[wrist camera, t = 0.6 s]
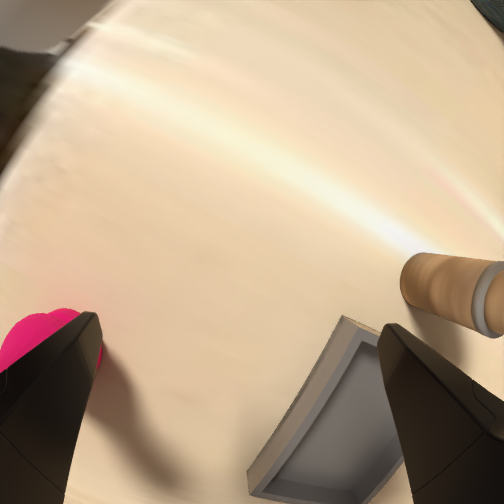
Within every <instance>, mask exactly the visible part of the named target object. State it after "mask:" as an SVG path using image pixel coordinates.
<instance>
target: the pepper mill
mask: <svg viewBox="0 0 504 504" xmlns="http://www.w3.org/2000/svg"><path fill="white" fill-rule="evenodd" d="M78 315H80V313H79V312H77V311H75V310H72V309H67V308H62V309H57V310H54V311H52V312H50V313H48V314H45V313H36V314H32V315H29V316H27V317H25V318H24V319H22V320H21V321H19V322H18V323H16V324H15V326H14V327H13V328H12V329H11V330H10V332H9V333H8V335H7V336H6V338H5V340H4V342H3V344H2V347H1V350H0V373H1V372H2V371H3V370H5V369H8V367H9V366H10V365H11V364H13V363H14V362H15V361H17V360H18V359H19V358H21V357H22V356H23V355H25V354H26V353H27V352H29V351H30V350H31V349H33V348H34V347H35V346H37V345H38V344H39V343H41V342H42V341H43V340H45V339H46V338H48V337H49V336H50V335H52V334H53V333H54V332H56V331H57V330H59V329H60V328H61V327H63V326H64V325H66V324H67V323H68V322H70V321H71V320H73V319H74V318H75V317H77V316H78ZM101 359H102V344H101V347H100V352H99V357H98V362H97V367H96V370H97V368H98V367H99V365H100V362H101Z"/></svg>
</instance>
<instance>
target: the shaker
mask: <svg viewBox="0 0 504 504" xmlns="http://www.w3.org/2000/svg"><path fill="white" fill-rule="evenodd" d="M400 289H401V293H402V295H403V297H404V299H405V300H406V301H407V302H408V303H409V304H410V305H413V306H415V307H417V308H420V309H422V310H425V311H427V312H430V313H432V314H435V315H437V316H440V317H442V318H445V319H447V320H450V321H452V322H454V323H457V324H459V325H462V326H464V327H467V328H469V329H472V330H474V331H476V332H479V333H480V334H482V335H484V336H487V337H489V338H499V337H501V336H502V335H504V262H503V261H489V260H481V259H473V258H465V257H457V256H448V255H440V254H432V253H418V254H416V255H414V256H412V257H411V258H410V259H409V260H408V261H407V262H406V264H405V265H404V267H403V270H402V273H401V277H400Z"/></svg>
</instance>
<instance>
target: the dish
mask: <svg viewBox="0 0 504 504" xmlns="http://www.w3.org/2000/svg"><path fill="white" fill-rule="evenodd" d="M380 334H381V332H378V331H376V330H374V329H372V328H369V327H367V326H365V325H363V324H361V323H359V322H356V321H354V320H352V319H350V318H348V317H345V316H343V315H342V316H341V318H340V320H339V322H338V324H337V325H336V327H335V329H334V331H333V333H332V335H331V337H330V339H329V341H328V342H327V344H326V346H325V348H324V350H323V351H322V353H321V355H320V357H319V359H318V360H317V362H316V364H315V366H314V367H313V369H312V371H311V373H310V374H309V376H308V378H307V380H306V381H305V383H304V385H303V386H302V388H301V390H300V391H299V393H298V395H297V396H296V398H295V400H294V401H293V403H292V404H291V406H290V408H289V409H288V411H287V412H286V414H285V416H284V417H283V419H282V420H281V422H280V423H279V425H278V427H277V428H276V430H275V431H274V433H273V434H272V436H271V437H270V439H269V440H268V442H267V443H266V445H265V446H264V448H263V449H262V451H261V452H260V453H259V455H258V456H257V458H256V459H255V461H254V462H253V463H252V465H251V466H250V468H249V469H248V470H247V478H248V487H249V495H250V496H255V497H259V498H264V499H268V500H273V501H278V502H284V503H289V504H368V503H369V502H370V501H371V500H372V498H373V497H374V496H375V495H376V494H377V493H378V492H379V491H380V489H381V488H382V487H383V486H384V485H385V484H386V483H387V481H388V480H389V479H390V478H391V477H392V475H393V474H394V473H395V472H396V470H397V469H398V468H399V467H400V465H401V464H402V463H403V462H404V457H403V453H402V449H401V445H400V441H399V438H398V434H397V430H396V426H395V423H394V419H393V416H392V412H391V409H390V405H389V402H388V398H387V395H386V391H385V388H384V383H383V378H382V373H381V367H380V362H379V357H378V352H377V341H378V339H379V337H380Z"/></svg>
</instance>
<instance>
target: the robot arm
mask: <svg viewBox="0 0 504 504" xmlns="http://www.w3.org/2000/svg"><path fill="white" fill-rule="evenodd" d="M101 343H102V330H101V326H100V322H99V318H98V315H97V314H96V313H95V312H87V311H85V312H82V313H81V314H80V315H78V316H77V317H75V318H74V319H73V320H71V321H70V322H68V323H67V324H66V325H64V326H63V327H61V328H60V329H59V330H57V331H56V332H54V333H53V334H52V335H50V336H49V337H48V338H46V339H45V340H43V341H42V342H41V343H39V344H38V345H37V346H35V347H34V348H33V349H31V350H30V351H29V352H27V353H26V354H25V355H23V356H22V357H21V358H19V359H18V360H17V361H15V362H14V363H13V364H11V365H10V366H9V367H8V369H5V370H3V371H2V372H1V373H0V504H63V502H64V497H65V491H66V486H67V481H68V476H69V471H70V467H71V463H72V458H73V454H74V450H75V446H76V442H77V438H78V434H79V430H80V426H81V423H82V419H83V415H84V412H85V408H86V405H87V402H88V398H89V395H90V391H91V388H92V385H93V381H94V377H95V372H96V367H97V362H98V357H99V352H100V347H101ZM377 352H378V357H379V362H380V367H381V373H382V378H383V383H384V388H385V391H386V395H387V398H388V402H389V405H390V409H391V412H392V416H393V419H394V423H395V426H396V430H397V434H398V438H399V441H400V445H401V449H402V453H403V457H404V461H405V466H406V470H407V474H408V478H409V483H410V487H411V492H412V494H413V495H412V497H413V502H414V504H504V401H502V400H501V399H499V398H498V397H496V396H495V395H493V394H492V393H490V392H489V391H488V390H486V389H485V388H484V387H482V386H481V385H480V384H478V383H477V382H476V381H474V380H472V379H471V378H470V377H469V376H468V375H466V374H465V373H464V372H462V371H461V370H460V369H459V368H457V367H456V366H455V365H453V364H452V363H451V362H449V361H448V360H447V359H445V358H444V357H442V356H441V355H440V354H438V353H437V352H436V351H434V350H433V349H432V348H430V347H429V346H428V345H426V344H425V343H424V342H422V341H421V340H420V339H418V338H417V337H415V336H414V335H413V334H411V333H410V332H409V331H407V330H406V329H405V328H403V327H402V326H400V325H399V324H397V323H387V324H385V325H384V327H383V330H382V332H381V334H380V337H379V339H378V341H377Z"/></svg>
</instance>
